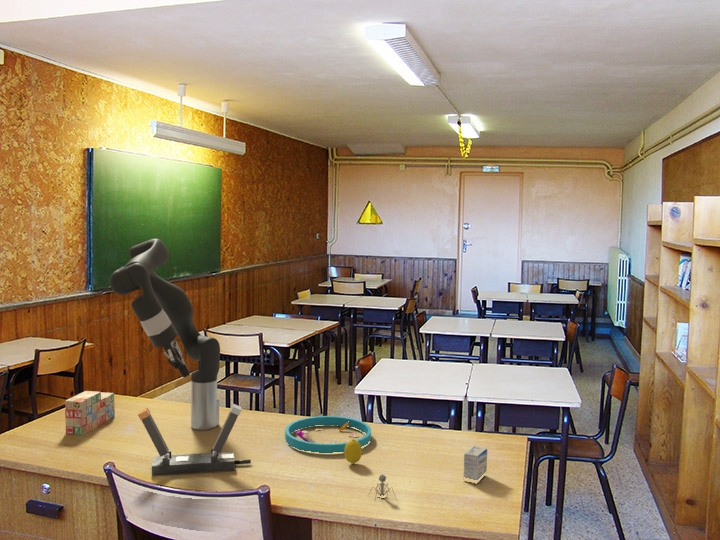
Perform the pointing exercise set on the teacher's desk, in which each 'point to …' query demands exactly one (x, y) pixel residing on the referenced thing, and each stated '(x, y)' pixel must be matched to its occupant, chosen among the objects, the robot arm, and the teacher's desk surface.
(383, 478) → the bacteriophage
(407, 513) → the teacher's desk surface
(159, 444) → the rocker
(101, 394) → the stack of blocks
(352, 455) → the lemon
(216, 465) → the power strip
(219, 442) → the lever
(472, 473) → the medicine box
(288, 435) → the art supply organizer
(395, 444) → the teacher's desk surface
